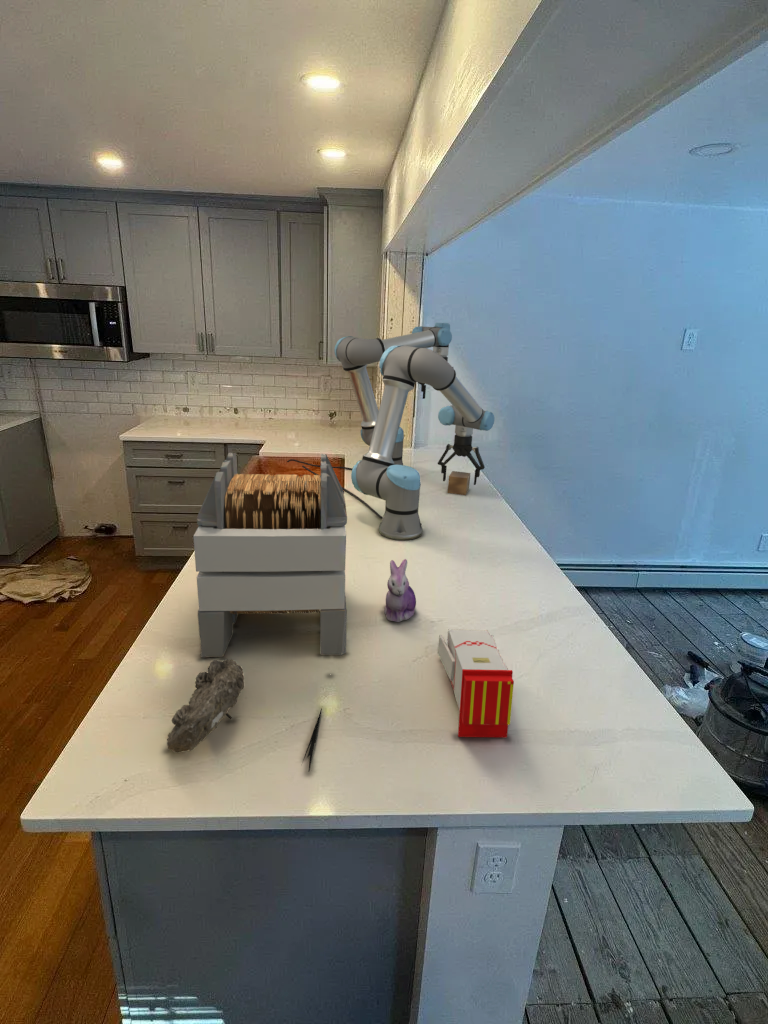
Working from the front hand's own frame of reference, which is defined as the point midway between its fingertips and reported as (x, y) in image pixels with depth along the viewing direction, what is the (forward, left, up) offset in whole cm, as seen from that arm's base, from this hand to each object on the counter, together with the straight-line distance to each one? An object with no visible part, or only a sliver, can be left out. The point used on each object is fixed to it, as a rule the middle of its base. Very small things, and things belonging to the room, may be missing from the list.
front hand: (459, 482), depth 249 cm
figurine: (+64, -93, -4) cm, 113 cm away
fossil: (+71, -148, -4) cm, 164 cm away
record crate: (+47, -119, -4) cm, 128 cm away
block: (0, 0, -4) cm, 4 cm away
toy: (+96, -102, -4) cm, 141 cm away
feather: (+84, -132, -4) cm, 157 cm away
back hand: (-42, +26, +28) cm, 57 cm away
